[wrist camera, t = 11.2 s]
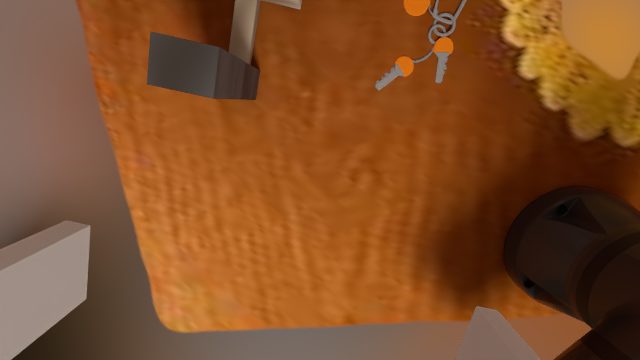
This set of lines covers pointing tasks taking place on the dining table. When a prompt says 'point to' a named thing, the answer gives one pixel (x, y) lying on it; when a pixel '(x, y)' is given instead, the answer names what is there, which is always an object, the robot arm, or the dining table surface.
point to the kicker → (211, 59)
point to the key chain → (416, 6)
